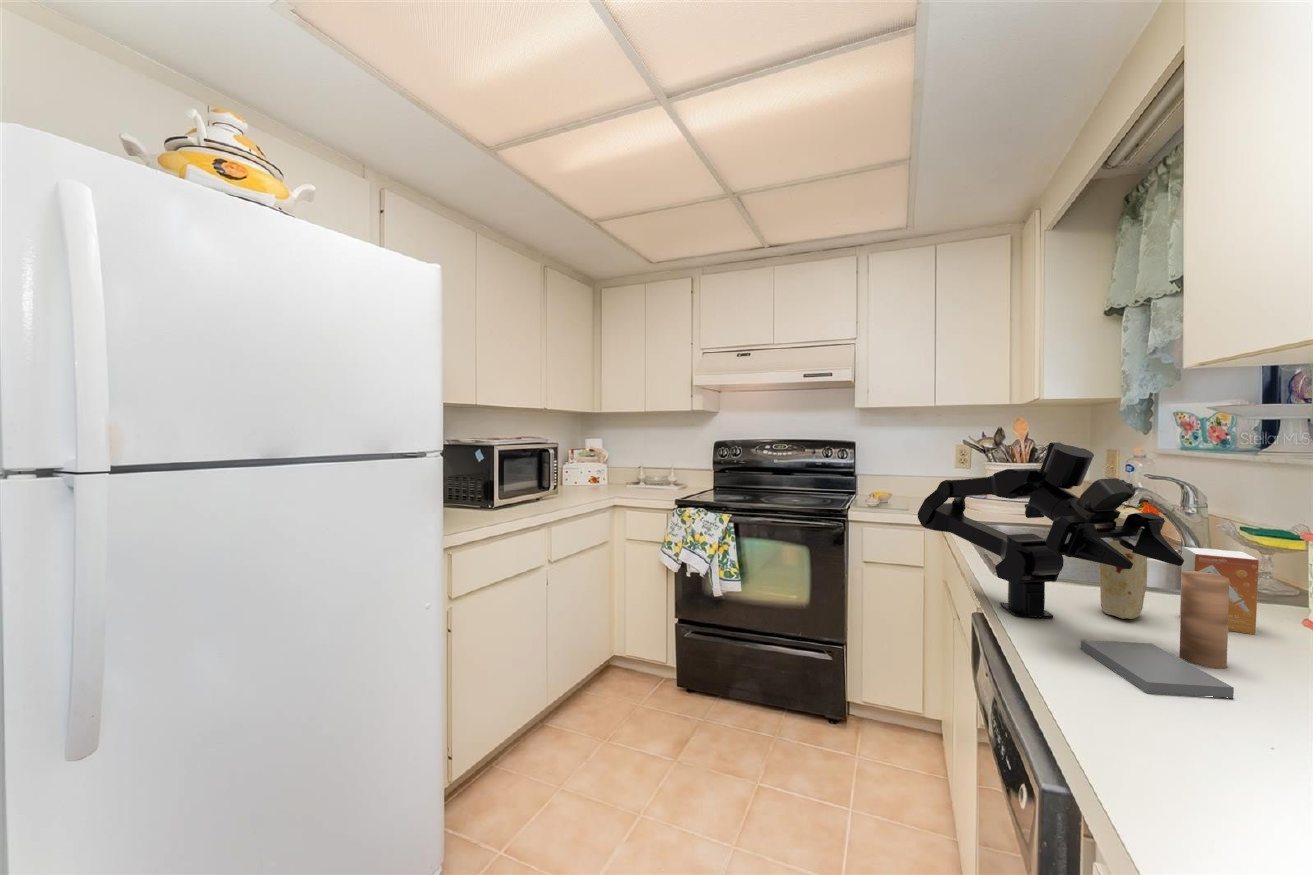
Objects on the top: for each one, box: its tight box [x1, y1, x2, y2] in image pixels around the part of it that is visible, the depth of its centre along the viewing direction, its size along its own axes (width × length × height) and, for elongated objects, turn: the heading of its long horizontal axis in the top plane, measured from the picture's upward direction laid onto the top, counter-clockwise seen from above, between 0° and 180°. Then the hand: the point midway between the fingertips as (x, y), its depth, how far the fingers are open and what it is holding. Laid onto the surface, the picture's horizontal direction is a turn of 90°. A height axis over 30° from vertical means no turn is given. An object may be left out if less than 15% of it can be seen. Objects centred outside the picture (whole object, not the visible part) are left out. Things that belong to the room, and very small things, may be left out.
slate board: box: [1080, 639, 1235, 699], centre depth 77 cm, size 14×10×2 cm
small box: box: [1179, 546, 1260, 635], centre depth 95 cm, size 8×6×13 cm
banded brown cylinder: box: [1179, 571, 1229, 669], centre depth 80 cm, size 5×5×13 cm
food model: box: [1099, 507, 1148, 620], centre depth 99 cm, size 10×7×20 cm
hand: (1157, 564), depth 79 cm, fingers open, 9 cm apart
